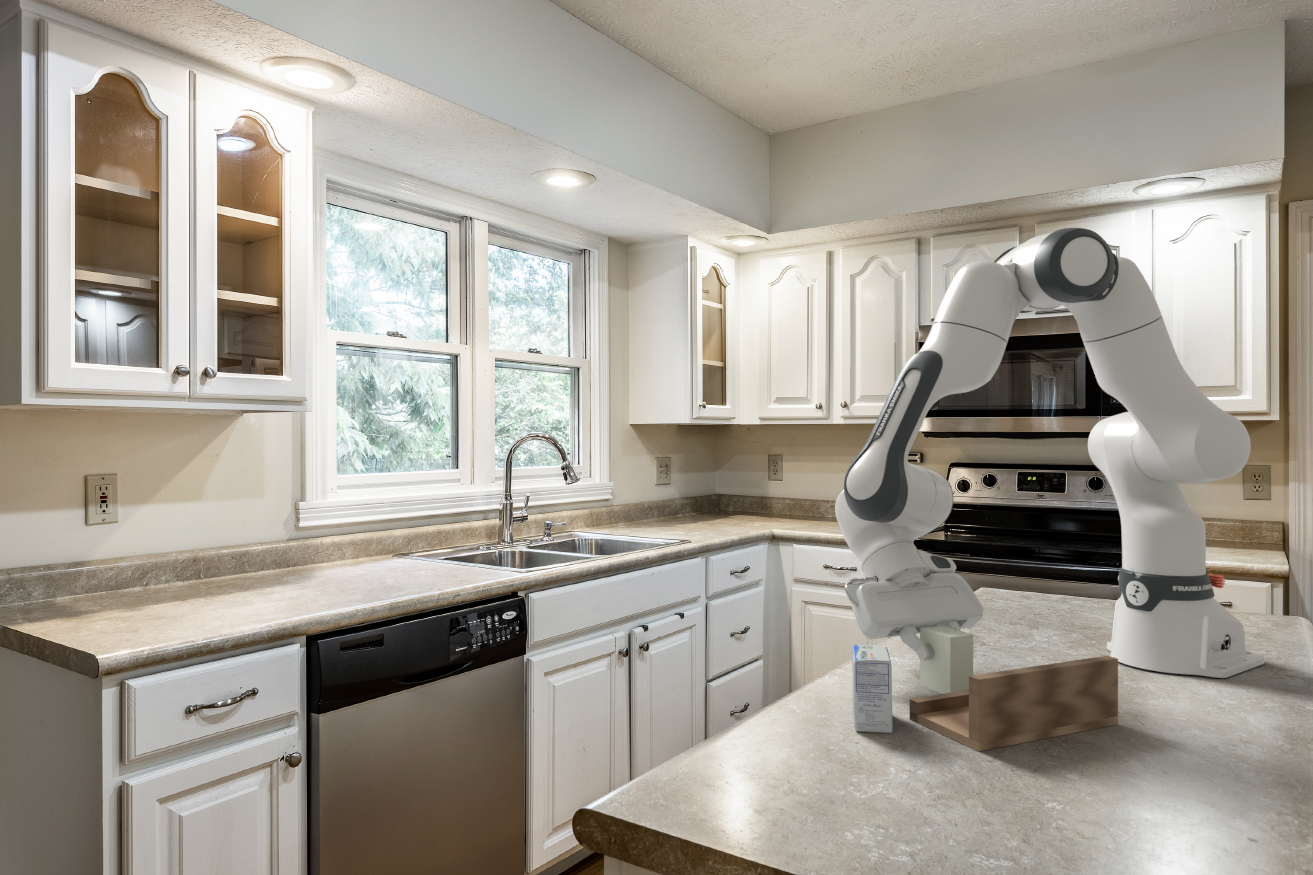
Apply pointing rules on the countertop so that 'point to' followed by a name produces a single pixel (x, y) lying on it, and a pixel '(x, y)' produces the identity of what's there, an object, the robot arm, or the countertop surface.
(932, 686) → the sage cabinet block
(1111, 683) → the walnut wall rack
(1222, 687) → the countertop surface
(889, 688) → the medicine box
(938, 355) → the robot arm
